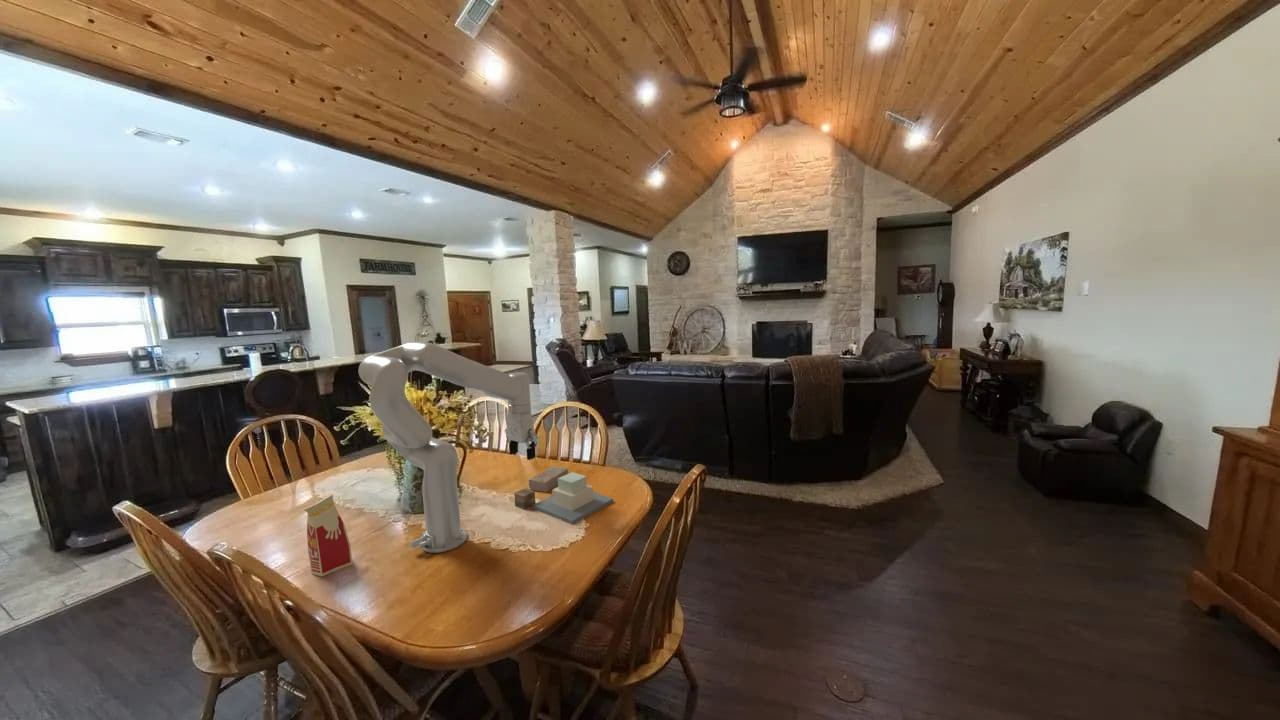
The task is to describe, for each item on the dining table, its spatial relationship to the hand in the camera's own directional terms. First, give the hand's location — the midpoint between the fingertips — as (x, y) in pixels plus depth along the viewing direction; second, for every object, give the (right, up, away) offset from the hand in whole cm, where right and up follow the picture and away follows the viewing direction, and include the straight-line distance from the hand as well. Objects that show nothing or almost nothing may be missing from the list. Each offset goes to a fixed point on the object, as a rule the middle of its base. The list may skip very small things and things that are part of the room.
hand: (522, 456), depth 157 cm
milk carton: (-45, -24, -32) cm, 60 cm away
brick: (+5, -16, +21) cm, 27 cm away
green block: (+17, -12, +1) cm, 21 cm away
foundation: (+18, -18, +2) cm, 25 cm away
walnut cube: (0, -18, +2) cm, 18 cm away
